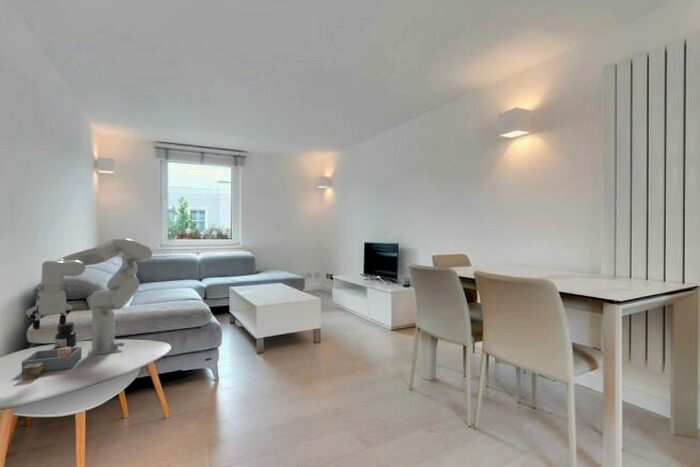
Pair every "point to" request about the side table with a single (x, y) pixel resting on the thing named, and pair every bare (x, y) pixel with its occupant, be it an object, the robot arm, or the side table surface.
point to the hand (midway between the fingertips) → (49, 326)
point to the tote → (53, 359)
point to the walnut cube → (32, 371)
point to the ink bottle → (65, 336)
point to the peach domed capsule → (63, 351)
